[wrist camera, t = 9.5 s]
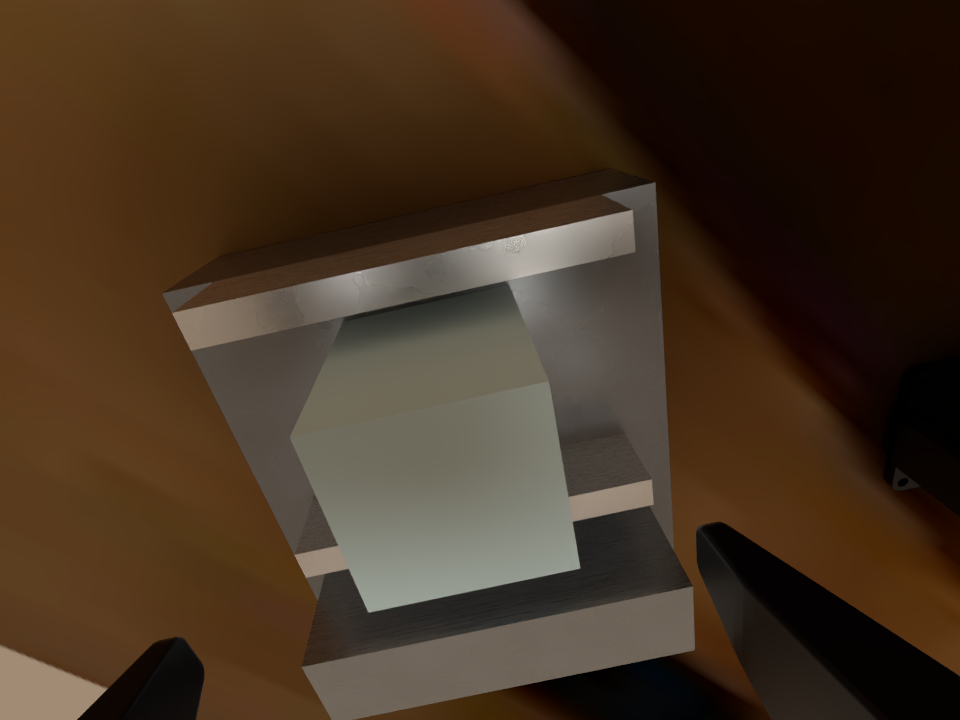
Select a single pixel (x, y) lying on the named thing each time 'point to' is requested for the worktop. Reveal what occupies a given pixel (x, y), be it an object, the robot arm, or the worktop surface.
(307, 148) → the worktop surface
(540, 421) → the block
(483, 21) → the worktop surface
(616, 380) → the base
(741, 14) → the worktop surface
